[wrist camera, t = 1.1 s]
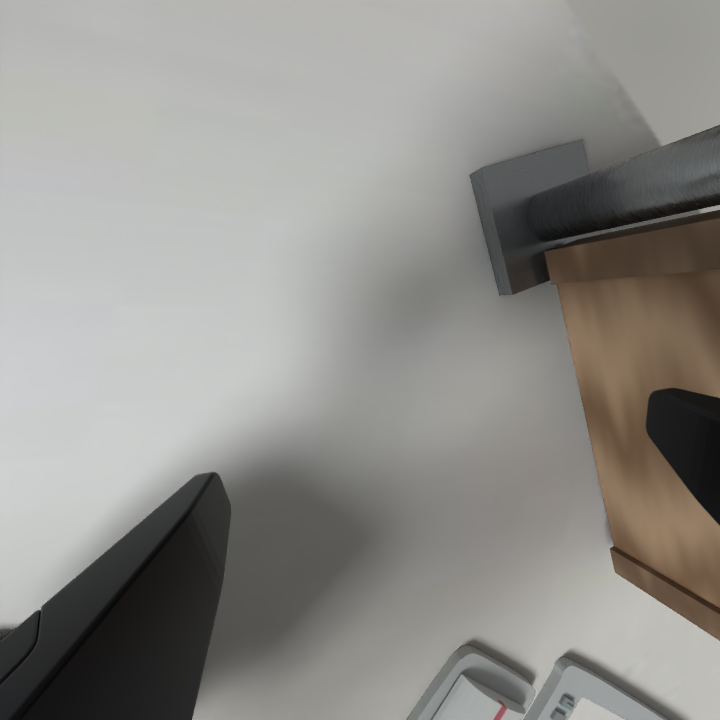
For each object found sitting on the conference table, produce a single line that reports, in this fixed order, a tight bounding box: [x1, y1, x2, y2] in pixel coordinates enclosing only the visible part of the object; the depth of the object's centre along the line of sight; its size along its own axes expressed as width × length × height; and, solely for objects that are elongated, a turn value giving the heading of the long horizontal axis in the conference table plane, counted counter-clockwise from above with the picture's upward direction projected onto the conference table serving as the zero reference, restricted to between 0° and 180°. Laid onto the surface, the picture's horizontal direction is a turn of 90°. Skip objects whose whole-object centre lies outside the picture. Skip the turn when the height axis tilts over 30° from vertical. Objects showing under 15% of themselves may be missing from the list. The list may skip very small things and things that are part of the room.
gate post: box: [470, 125, 720, 296], centre depth 14 cm, size 6×6×16 cm
